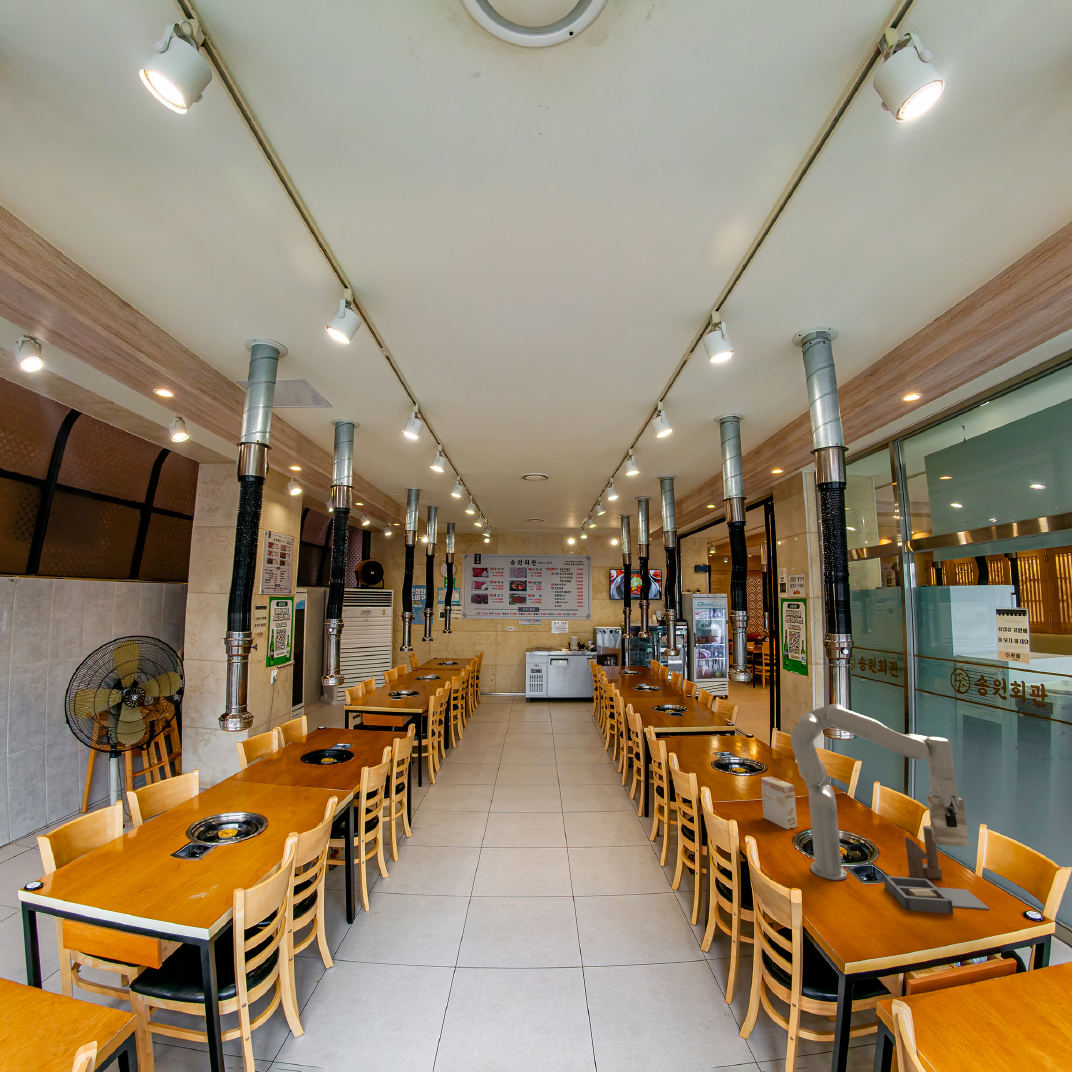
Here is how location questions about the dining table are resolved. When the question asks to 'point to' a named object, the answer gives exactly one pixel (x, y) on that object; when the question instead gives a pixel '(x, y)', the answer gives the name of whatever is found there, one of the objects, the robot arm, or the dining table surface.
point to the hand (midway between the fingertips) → (948, 824)
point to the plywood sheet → (940, 829)
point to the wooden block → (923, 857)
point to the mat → (963, 898)
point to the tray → (901, 893)
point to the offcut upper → (922, 893)
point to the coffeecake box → (779, 802)
